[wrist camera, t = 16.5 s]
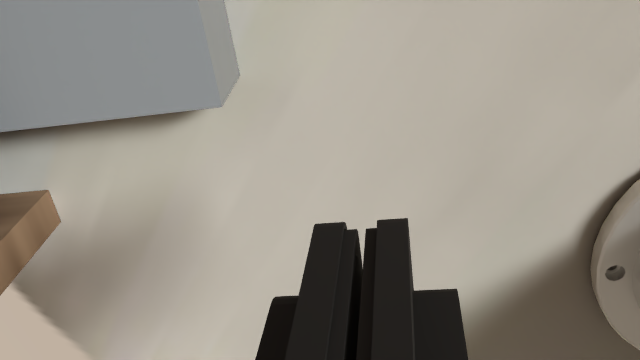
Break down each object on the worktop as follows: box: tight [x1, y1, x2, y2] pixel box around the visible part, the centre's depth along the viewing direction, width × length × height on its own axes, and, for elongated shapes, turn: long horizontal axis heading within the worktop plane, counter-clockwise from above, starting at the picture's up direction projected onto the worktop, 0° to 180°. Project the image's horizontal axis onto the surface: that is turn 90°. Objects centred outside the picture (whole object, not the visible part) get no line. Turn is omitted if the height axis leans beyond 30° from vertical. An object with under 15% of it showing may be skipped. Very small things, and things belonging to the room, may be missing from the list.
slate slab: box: [0, 0, 240, 132], centre depth 24 cm, size 16×5×4 cm, turn 98°
